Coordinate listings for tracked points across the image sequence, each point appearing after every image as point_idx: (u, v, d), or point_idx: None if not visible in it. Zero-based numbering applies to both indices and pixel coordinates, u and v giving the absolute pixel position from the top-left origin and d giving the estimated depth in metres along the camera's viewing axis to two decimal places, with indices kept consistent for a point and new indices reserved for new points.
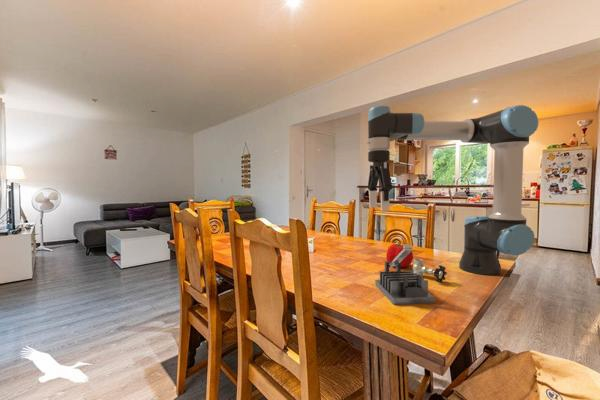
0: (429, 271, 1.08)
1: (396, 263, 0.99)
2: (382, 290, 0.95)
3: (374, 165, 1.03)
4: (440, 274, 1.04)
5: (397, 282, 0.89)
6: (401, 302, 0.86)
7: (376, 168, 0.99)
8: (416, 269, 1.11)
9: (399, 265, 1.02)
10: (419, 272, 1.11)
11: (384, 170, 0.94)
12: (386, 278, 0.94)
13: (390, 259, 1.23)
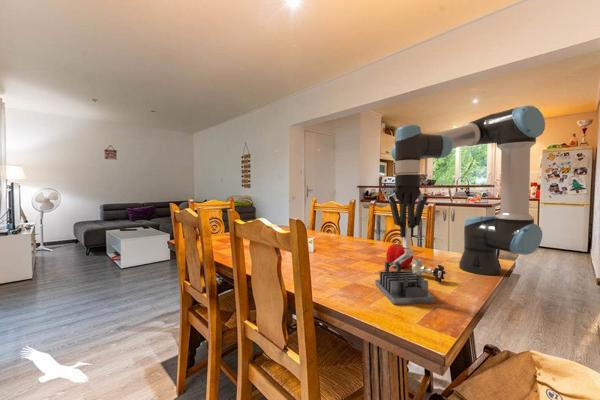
0: (428, 271, 1.08)
1: (397, 264, 0.99)
2: (382, 290, 0.95)
3: None
4: (439, 274, 1.05)
5: (397, 282, 0.89)
6: (401, 302, 0.86)
7: None
8: (415, 269, 1.12)
9: (399, 265, 1.02)
10: (418, 272, 1.11)
11: (391, 205, 0.90)
12: (386, 278, 0.94)
13: (390, 259, 1.23)
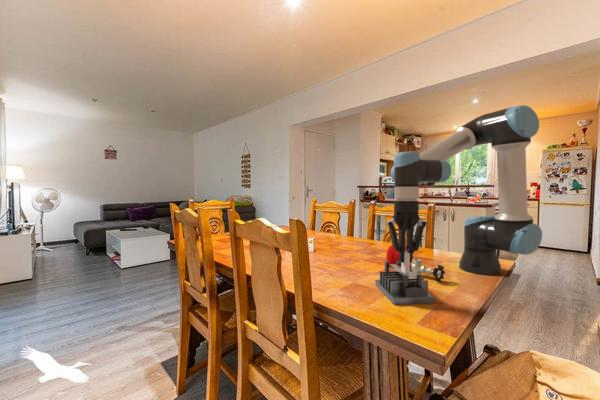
0: (428, 270, 1.08)
1: None
2: (382, 290, 0.95)
3: None
4: (439, 273, 1.05)
5: (397, 282, 0.89)
6: (401, 302, 0.86)
7: None
8: (414, 269, 1.12)
9: (399, 265, 1.02)
10: (418, 272, 1.12)
11: (390, 230, 0.91)
12: (386, 278, 0.94)
13: (390, 259, 1.23)
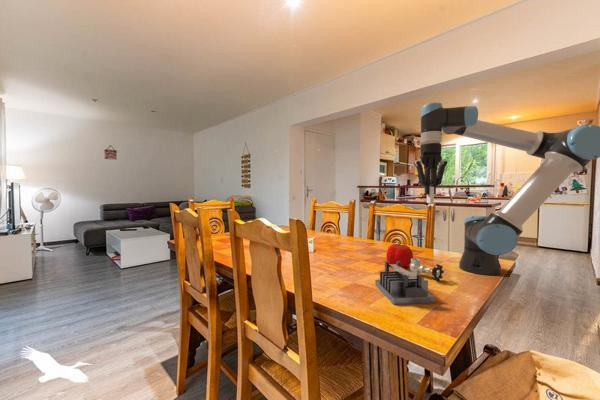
0: (427, 270, 1.09)
1: None
2: (382, 290, 0.95)
3: None
4: (438, 273, 1.06)
5: (397, 282, 0.89)
6: (401, 302, 0.86)
7: None
8: (413, 268, 1.12)
9: (399, 265, 1.02)
10: (416, 271, 1.12)
11: (417, 168, 1.12)
12: (386, 278, 0.94)
13: (390, 259, 1.23)
